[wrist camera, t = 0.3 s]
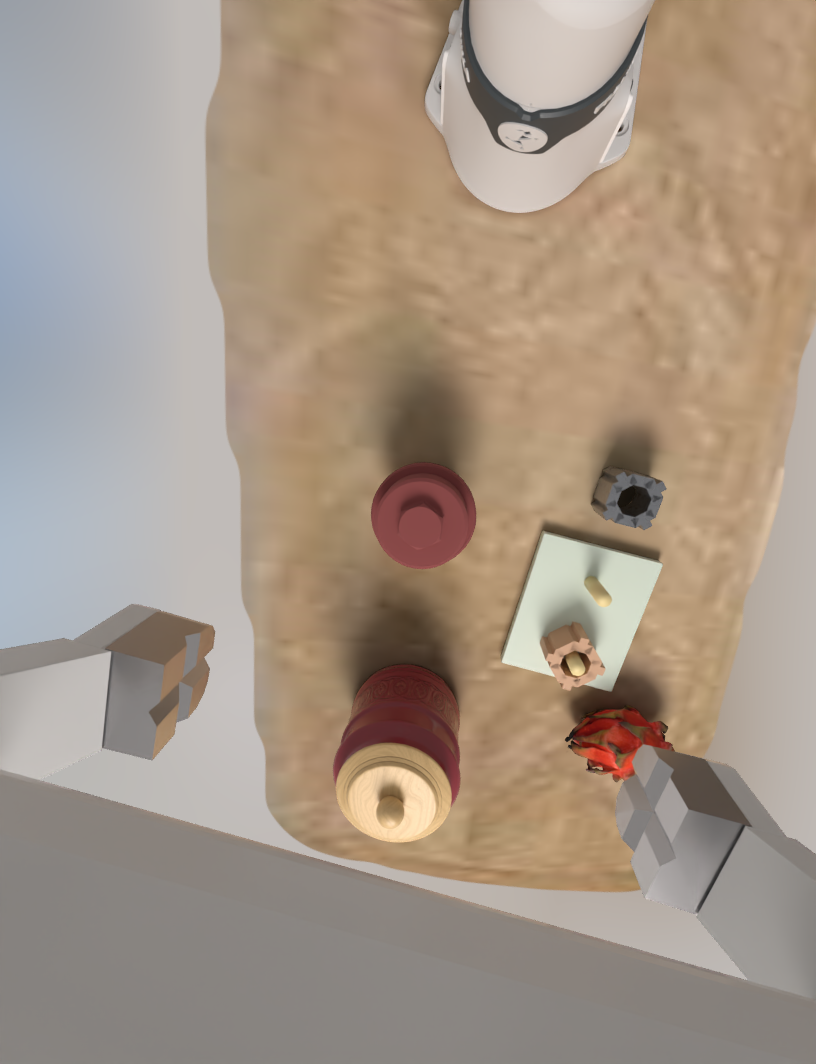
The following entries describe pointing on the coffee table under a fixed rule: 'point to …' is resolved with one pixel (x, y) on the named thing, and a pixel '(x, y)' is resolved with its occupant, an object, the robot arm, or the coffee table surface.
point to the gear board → (579, 611)
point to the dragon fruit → (615, 740)
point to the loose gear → (642, 502)
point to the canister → (399, 755)
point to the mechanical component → (423, 515)
